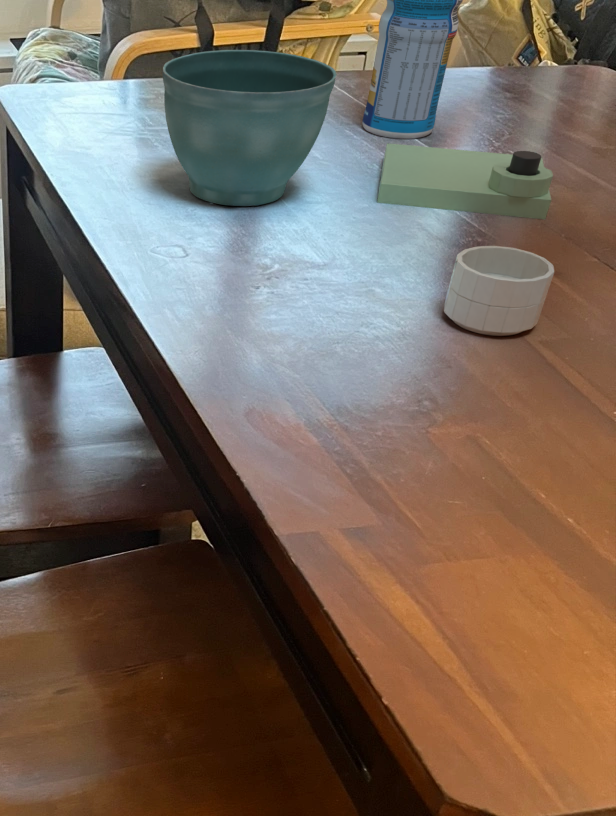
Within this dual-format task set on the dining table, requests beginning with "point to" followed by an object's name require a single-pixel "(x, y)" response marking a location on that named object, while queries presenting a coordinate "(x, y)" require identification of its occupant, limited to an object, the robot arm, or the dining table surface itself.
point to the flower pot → (244, 120)
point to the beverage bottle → (410, 67)
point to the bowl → (498, 290)
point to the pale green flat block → (462, 182)
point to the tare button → (525, 163)
